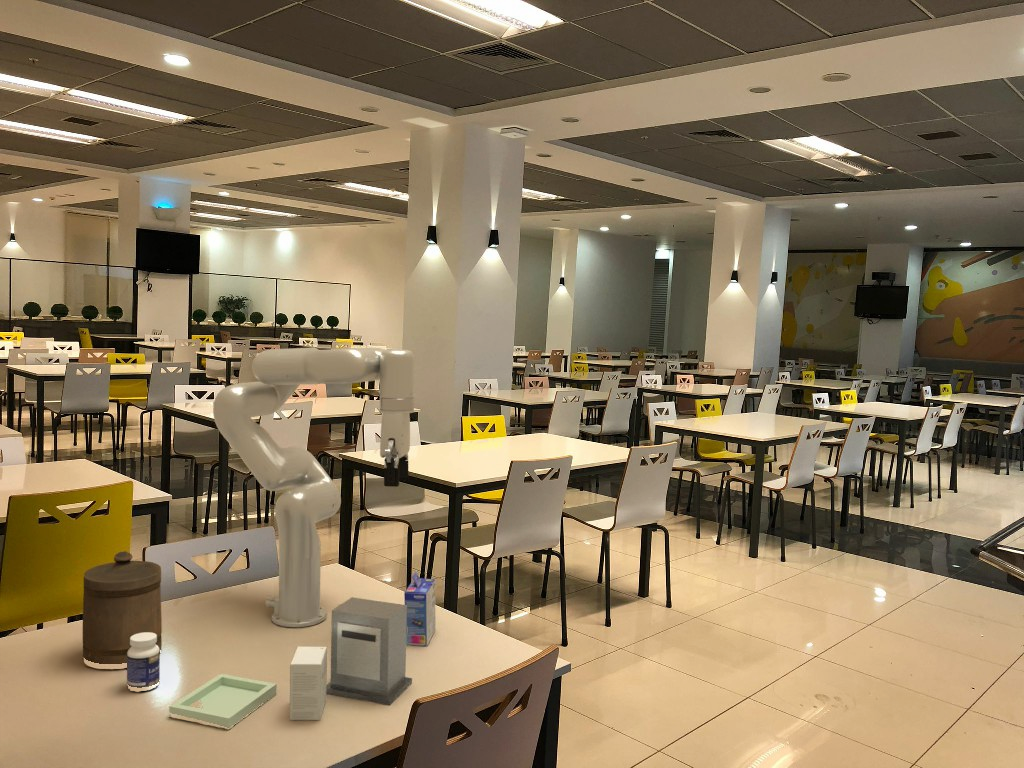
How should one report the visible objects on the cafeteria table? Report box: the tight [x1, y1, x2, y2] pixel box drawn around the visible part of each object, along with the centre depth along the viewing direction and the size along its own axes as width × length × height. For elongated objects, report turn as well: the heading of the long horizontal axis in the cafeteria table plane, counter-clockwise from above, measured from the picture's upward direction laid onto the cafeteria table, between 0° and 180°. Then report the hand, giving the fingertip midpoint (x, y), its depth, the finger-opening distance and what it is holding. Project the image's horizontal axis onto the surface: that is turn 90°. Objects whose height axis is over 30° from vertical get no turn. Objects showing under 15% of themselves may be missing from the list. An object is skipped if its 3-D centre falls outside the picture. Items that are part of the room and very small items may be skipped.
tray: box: [168, 673, 277, 728], centre depth 151 cm, size 12×14×2 cm
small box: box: [289, 646, 328, 721], centre depth 150 cm, size 8×6×10 cm
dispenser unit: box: [326, 596, 413, 706], centre depth 160 cm, size 14×10×16 cm
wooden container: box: [82, 550, 163, 664], centre depth 171 cm, size 15×15×22 cm
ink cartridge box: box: [403, 571, 436, 647], centre depth 186 cm, size 10×6×14 cm, turn 174°
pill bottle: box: [126, 632, 161, 688], centre depth 158 cm, size 6×6×10 cm
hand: (396, 481), depth 184 cm, fingers open, 9 cm apart
